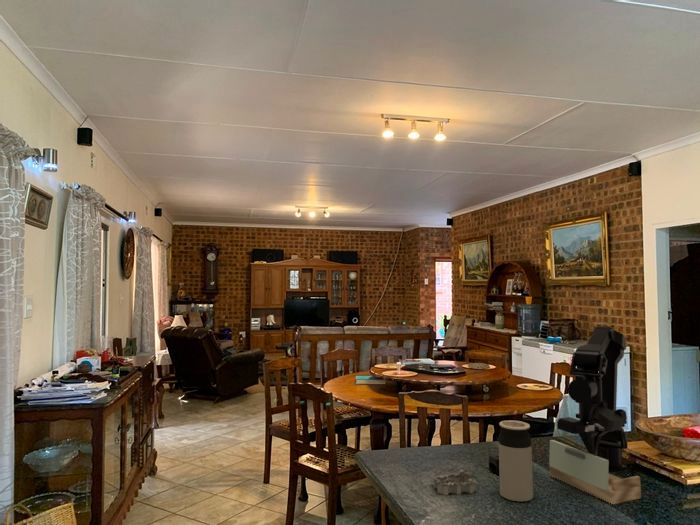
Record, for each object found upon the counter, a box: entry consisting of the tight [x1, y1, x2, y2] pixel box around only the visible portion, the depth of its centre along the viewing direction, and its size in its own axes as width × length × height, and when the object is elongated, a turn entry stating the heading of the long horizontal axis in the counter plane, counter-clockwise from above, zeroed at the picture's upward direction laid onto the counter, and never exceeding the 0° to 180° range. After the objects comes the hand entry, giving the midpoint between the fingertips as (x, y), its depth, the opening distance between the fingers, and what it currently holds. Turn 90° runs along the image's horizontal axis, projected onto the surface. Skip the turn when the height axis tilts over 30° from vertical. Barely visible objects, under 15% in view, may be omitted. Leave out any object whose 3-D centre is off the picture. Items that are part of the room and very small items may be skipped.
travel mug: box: [498, 419, 534, 503], centre depth 124 cm, size 8×8×18 cm
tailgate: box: [548, 439, 609, 490], centre depth 127 cm, size 2×18×7 cm, turn 22°
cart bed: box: [549, 466, 642, 505], centre depth 129 cm, size 10×20×5 cm, turn 22°
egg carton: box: [431, 468, 478, 496], centre depth 128 cm, size 11×8×4 cm
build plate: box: [484, 453, 499, 477], centre depth 141 cm, size 12×7×5 cm, turn 18°
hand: (592, 455), depth 130 cm, fingers closed
